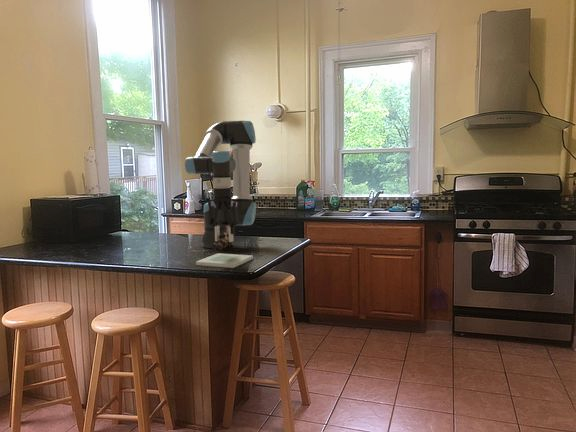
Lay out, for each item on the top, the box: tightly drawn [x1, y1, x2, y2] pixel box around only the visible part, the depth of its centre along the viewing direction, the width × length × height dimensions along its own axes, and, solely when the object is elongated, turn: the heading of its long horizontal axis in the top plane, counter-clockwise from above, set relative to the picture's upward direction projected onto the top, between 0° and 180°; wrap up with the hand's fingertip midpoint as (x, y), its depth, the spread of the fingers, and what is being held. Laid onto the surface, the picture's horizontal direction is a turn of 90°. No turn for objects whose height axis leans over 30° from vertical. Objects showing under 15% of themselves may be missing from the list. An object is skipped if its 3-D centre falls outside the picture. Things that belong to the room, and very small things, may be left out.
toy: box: [211, 233, 233, 252], centre depth 195 cm, size 6×6×15 cm
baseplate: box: [195, 253, 254, 269], centre depth 197 cm, size 18×18×2 cm
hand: (224, 241), depth 196 cm, fingers closed on toy, 6 cm apart
